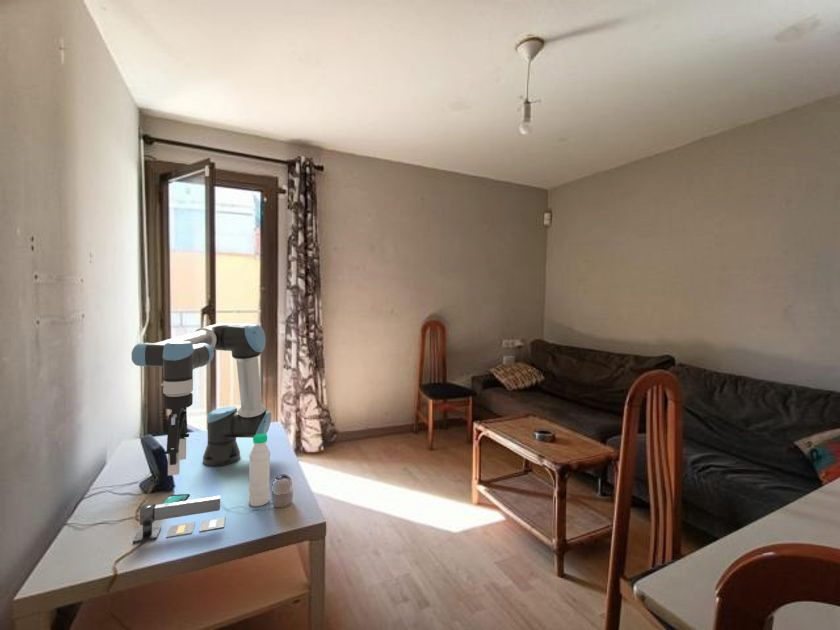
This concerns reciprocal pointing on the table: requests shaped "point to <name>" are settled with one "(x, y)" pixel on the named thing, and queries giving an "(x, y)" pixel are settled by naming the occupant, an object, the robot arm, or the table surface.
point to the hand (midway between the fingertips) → (177, 466)
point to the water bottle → (259, 471)
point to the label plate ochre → (180, 529)
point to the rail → (177, 509)
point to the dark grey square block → (147, 534)
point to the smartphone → (176, 498)
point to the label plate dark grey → (212, 524)
